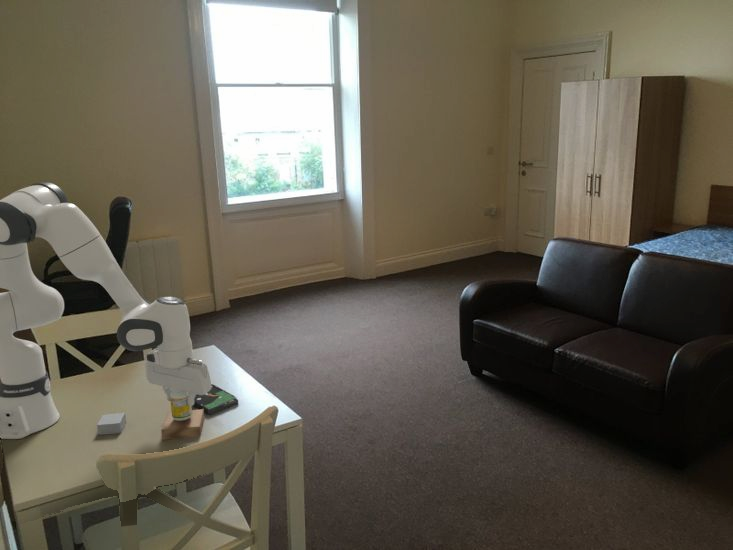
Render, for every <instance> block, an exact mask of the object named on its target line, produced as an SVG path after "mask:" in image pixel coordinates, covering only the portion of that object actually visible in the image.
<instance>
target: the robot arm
mask: <svg viewBox="0 0 733 550" xmlns="http://www.w3.org/2000/svg"><path fill="white" fill-rule="evenodd" d="M36 238H41V239H43V240H45V241H46V242H48V243H49V245H50V246H51V248H53V250H54V252H55V254H56V255H57V257H58V258H59V260H60V261H61V262H62V264H63V265H64V266H65V267H66V269H67V270H68V271H69V272H71V274H72V275H73V276H75V277H76V278H78V279H80V280H84V281H92V282H95V283H98V284H100V286H102V287H103V289H105V291H106V292H107V293H108V294H109V296H110V297H111V299H112V300H113V302H115V304H116V305H117V306H118V308H119V309H120V312H121V316H122V317H121V318H122V319H121V320H120V323H119V325H118V328H117V330H116V339H117V341H118V343H119V344H120V346H121V347H122V348H124V349H126V350H127V351H129V352H141V351H145V350H149V351H147V352H146V353H144V355H143V356H144V360H145V361H146V362H145V365H144V366H145V376H146V380H147V382H149V383H150V384H152V385H155V386H161V387H162V390H163V392H164V394H165V395H166V400H167V401H168V402H170V393H171V392H172V387H176V388H177V389H178V390H181V391H185V392H188V395H190V396H189V398H188V399H186V405H188V406H191V407H193V406H192V405H194V403H195V402H194V398H195V396H196V394H198V395H204V394H206V393H207V392H209V391H210V389H211V384H212V382H211V376H210V372H209V370H208V366H207V365H206V364H205V363H204V361H203V360H200V359H195V358H194V351H193V343H192V339H191V337H190V333H191V322H190V321H191V320H190V315H189V310H188V306H187V305H186V303H185V301H184V300H183V299H181V298H179V297H177V296H176V297H175V296H161V297H157V298H156V299H155V300H154V301H153V302H151V301H150V300H147V299H146V298H145V297H144V296H143V295H142V294H141V293H140V292H139V291H138V289H137V288H136V287H135V286H134V283H132V281H131V279H129V277H128V276H127V274H126V273H125V272H124V270H123V269H122V268H121V267H120V265H119V263H118V262H117V259H116V258H115V257H114V255H113V253H112V251H111V249H110V247H109V246H108V244H107V242H106V240H105V239H104V238H103V235H101V233H100V232H99V230H98V228H97V227H96V226H95V224H94V223H93V222H92V221H91V220H90V218H89V217H88V216H87V215H86V214H85V213H84V212H83V210H81V209H80V208H79V207H78V206H77V205H76V204H74V203H71V202H69V201H68V198H67V195H66V194H65V191H63V190H62V189H61V188H60V187H59V186H58V185H56V184H54V183H52V182H49V181H47V182H43V181H42V182H37V183H32V184H31V185H29V186H26V187H24V188H21V189H18V190H16V191H12V193H10V194H9V195H7V196H5V197H3V198H1V199H0V289H4V290H8V291H5V292H0V437H1V439H0V440H5V439H6V440H18V439H20V440H21V439H24V438H25V437H26V438H27V436H29V435H31V434H34V433H37V432H40V431H42V430H45V429H47V428H49V427H51V426H53V425H55V423H56V422H58V420H59V419H60V416H61V415H60V412H59V411H58V410H57V407H56V404H55V403H54V399H53V397H52V393H51V382H50V378H49V373H48V371H47V370H46V366H45V361H44V355H43V349H42V348H41V346H40V345H39V344H37V343H36V342H33V341H30V340H26V339H21V338H18V337H15V336H14V333H15V332H18V331H23V330H29V329H33V328H38V327H43V326H45V325H48V324H51V323H55V322H56V321H58V320H60V319H61V317H62V316H63V314H64V311H65V300H64V298H63V296H62V294H61V293H60V292H59V291H58V290H57V289H56V288H54V287H52V286H49V285H47V284H45V283H44V282H42V281H40V280H39V279H38V278H37V276H36V275H35V274H34V271H33V270H32V266H31V262H30V256H29V250H28V244H31V243H33V242H34V241H35V239H36Z"/></svg>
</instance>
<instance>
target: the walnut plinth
mask: <svg viewBox="0 0 733 550" xmlns="http://www.w3.org/2000/svg"><path fill="white" fill-rule="evenodd" d="M204 422H205V414H204V409H200V410H198V409H192V416H191V417H190V418H188V419H186V420H181V421H178V420H174V419H173V418H172V411H168V412H167V413H166V415H165V419H164V422H163V423H162V424H163V425H162V427H161V439H162V441H163V440H165V441H166V440H175V439H184V438H187V437H188V438H196V437H197V438H198V437H201V436H202V433H203V432H202V431H203V427H204V424H205V423H204ZM201 432H202V433H201Z"/></svg>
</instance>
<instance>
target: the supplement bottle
mask: <svg viewBox="0 0 733 550" xmlns="http://www.w3.org/2000/svg"><path fill="white" fill-rule="evenodd" d="M171 389H172V392H171V393H170V401H169V402H170V412H172V418H173V419H174V420H178V421H181V420H186V419H188V418H190V417H191V416H192V410H193V408H192V407H193V406H188V405H186V399H188V398H189V396H190V395H188V392H185V391H181V390H178V389H177V388H176V387H172V388H171Z"/></svg>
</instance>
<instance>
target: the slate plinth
mask: <svg viewBox="0 0 733 550" xmlns="http://www.w3.org/2000/svg"><path fill="white" fill-rule="evenodd" d="M126 424H127V417H126V412H120V413H118V412H117V413H108V414H102V415H101V418H100V419H99V421H98V422H97V424H96V427H97V433H98V436H101V435H103V436H104V435H111V434H113V435H114V434H122V432H123V430H124V428H125V426H126Z"/></svg>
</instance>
